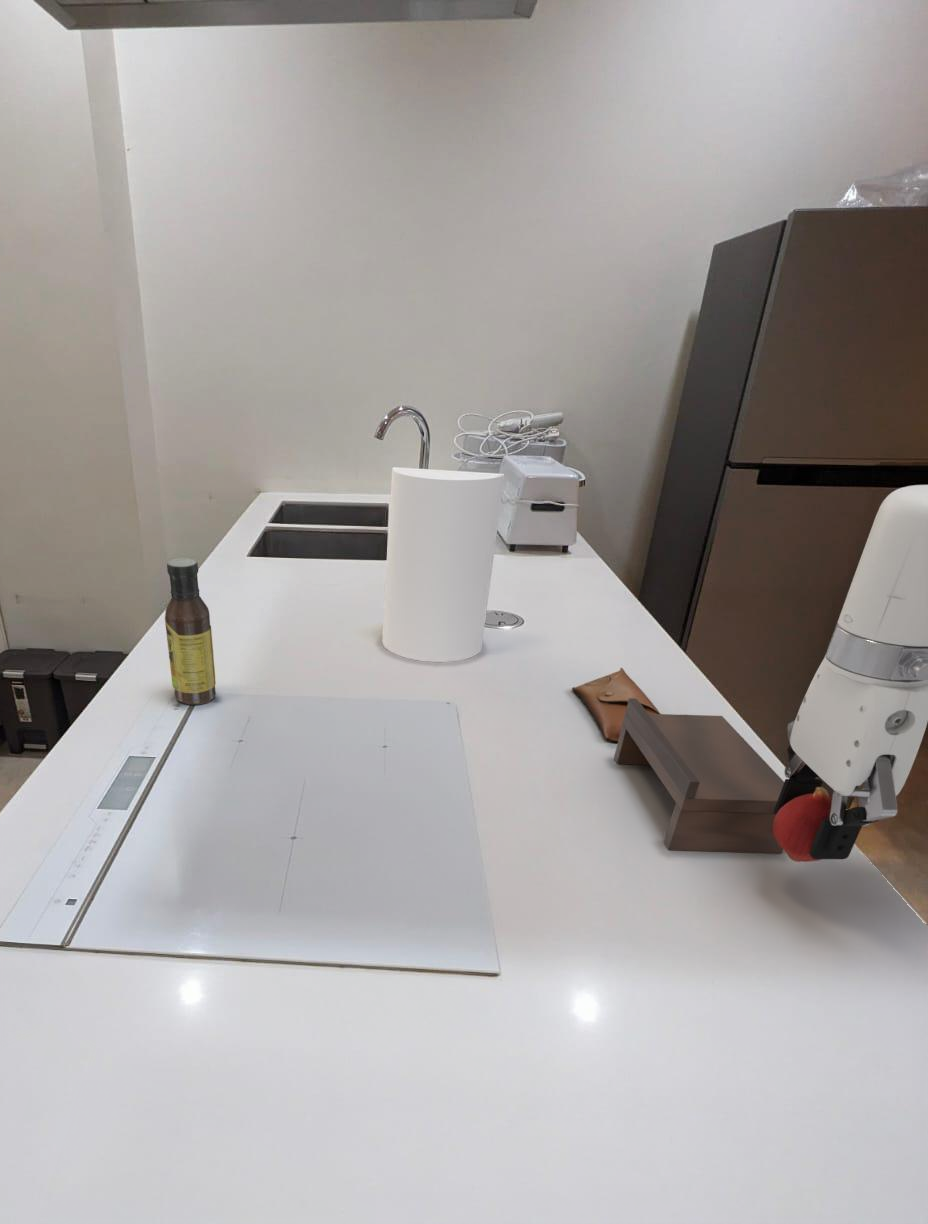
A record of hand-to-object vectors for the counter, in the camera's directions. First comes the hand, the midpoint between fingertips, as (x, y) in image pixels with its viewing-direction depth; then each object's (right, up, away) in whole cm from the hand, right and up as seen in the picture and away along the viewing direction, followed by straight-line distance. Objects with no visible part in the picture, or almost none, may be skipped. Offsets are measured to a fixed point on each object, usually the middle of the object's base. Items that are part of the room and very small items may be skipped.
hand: (808, 834), depth 70 cm
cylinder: (-27, +30, +61) cm, 73 cm away
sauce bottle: (-65, +18, +40) cm, 78 cm away
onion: (0, -3, +2) cm, 3 cm away
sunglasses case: (-4, +15, +38) cm, 41 cm away
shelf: (-2, +3, +18) cm, 19 cm away
